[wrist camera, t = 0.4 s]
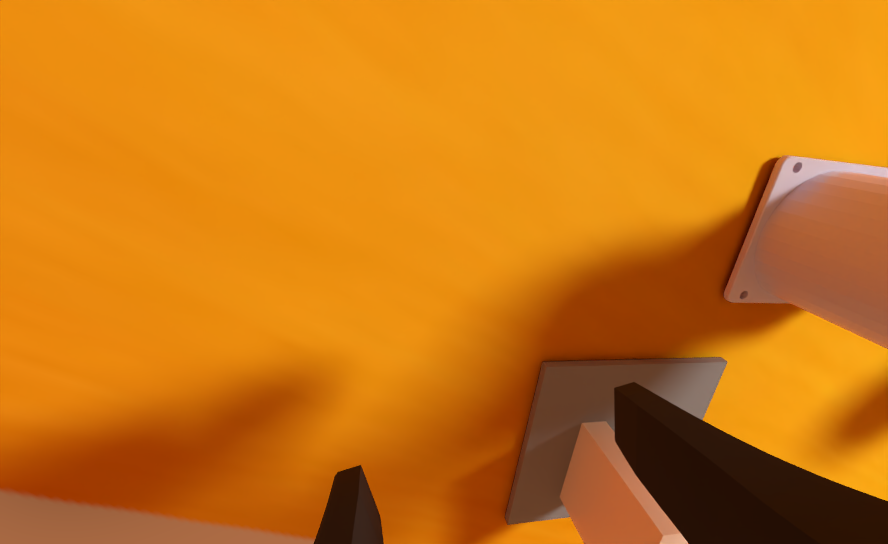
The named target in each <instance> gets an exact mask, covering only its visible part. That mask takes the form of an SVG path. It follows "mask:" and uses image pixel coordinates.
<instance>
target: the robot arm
mask: <svg viewBox="0 0 888 544" xmlns="http://www.w3.org/2000/svg"><path fill="white" fill-rule="evenodd" d="M724 298H725V299H726V300H727V301H729V302H732V303H791V304H793V305H795V306H797V307H800V308H802V309H804V310H806V311H808V312H810V313H812V314H814V315H817V316H819V317H821V318H823V319H825V320H827V321H829V322H831V323H834V324H836V325H838V326H840V327H842V328H844V329H846V330H848V331H851V332H853V333H855V334H857V335H859V336H861V337H863V338H865V339H868V340H870V341H872V342H874V343H876V344H878V345H880V346H883V347H885V348H887V349H888V168H885V167H877V166H869V165H861V164H853V163H845V162H837V161H829V160H821V159H812V158H804V157H796V156H788V155H786V156H783V157H781V158H780V159H779V160H778V161H777V162H776V164H775V166H774V169H773V171H772V174H771V176H770V179H769V181H768V184H767V186H766V189H765V191H764V194H763V196H762V199H761V201H760V204H759V206H758V209H757V211H756V214H755V216H754V219H753V221H752V224H751V226H750V229H749V231H748V234H747V236H746V239H745V241H744V244H743V246H742V249H741V251H740V254H739V256H738V259H737V261H736V264H735V266H734V269H733V271H732V274H731V276H730V279H729V281H728V284H727V286H726V289H725V291H724ZM614 420H615V442H616V444H617V445H618V447H619V449H620V450H621V452H622V454H623V456H624V457H625V459H626V461H627V462H628V464H629V465H630V467H631V468H632V470H633V472H634V473H635V475H636V476H637V478H638V479H639V480H640V482H641V483H642V484H643V485H644V487H645V488H646V489H647V491H648V492H649V493H650V495H651V496H652V497H653V498H654V500H655V501H656V502H657V504H658V505H659V506H660V507H661V509H662V510H663V511H664V513H665V514H666V515H667V516H668V518H669V519H670V520H671V522H672V523H673V524H674V525H675V527H676V528H677V529H678V531H679V532H680V533H681V534H682V536H683V537H684V538H685V540H686V541H687V542H688V543H689V544H888V501H885V500H882V499H880V498H877V497H874V496H871V495H869V494H866V493H863V492H860V491H858V490H855V489H852V488H849V487H847V486H844V485H841V484H839V483H836V482H834V481H831V480H829V479H826V478H823V477H821V476H818V475H816V474H814V473H811V472H809V471H807V470H804V469H802V468H800V467H797V466H795V465H793V464H790V463H788V462H785V461H783V460H781V459H779V458H777V457H774V456H772V455H770V454H768V453H766V452H764V451H762V450H760V449H757V448H755V447H753V446H751V445H749V444H747V443H745V442H743V441H741V440H739V439H737V438H735V437H733V436H731V435H729V434H727V433H725V432H723V431H721V430H719V429H718V428H716V427H714V426H712V425H710V424H708V423H706V422H705V421H703V420H701V419H699V418H697V417H695V416H694V415H692V414H690V413H688V412H686V411H685V410H683V409H681V408H679V407H678V406H676V405H674V404H672V403H670V402H669V401H667V400H665V399H663V398H662V397H660V396H658V395H657V394H655V393H653V392H651V391H650V390H648V389H646V388H644V387H643V386H641V385H639V384H637V383H635V382H632V383H628V384H625V385H622V386H619V387H615V388H614ZM314 544H384V543H383V535H382V527H381V519H380V514H379V512H378V509H377V506H376V504H375V501H374V499H373V496H372V493H371V491H370V488H369V485H368V483H367V480H366V477H365V475H364V472H363V469H362V467H361V465H360V466H356V467H353V468H350V469H346V470H343V471H340V472H338V473H337V474H336V475H335V477H334V481H333V485H332V489H331V492H330V496H329V499H328V502H327V506H326V509H325V512H324V515H323V518H322V521H321V524H320V527H319V530H318V533H317V536H316V539H315V542H314Z"/></svg>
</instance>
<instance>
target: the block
mask: <svg viewBox="0 0 888 544" xmlns="http://www.w3.org/2000/svg"><path fill="white" fill-rule="evenodd" d="M560 499H561V501H562V502H563V504H564V506H565V508H566V510H567V512H568V514H569V516H570V517H571V519H572V521H573V523H574V525H575V527H576V529H577V531H578V533H579V534H580V536H581V538H582V540H583V542H584V544H688V542H687V541H686V540H685V538H684V537H683V536H682V534H681V533H680V532H679V531H678V529H677V528H676V527H675V525H674V524H673V523H672V522H671V520H670V519H669V518H668V516H667V515H666V514H665V513H664V511H663V510H662V509H661V507H660V506H659V505H658V504H657V502H656V501H655V500H654V498H653V497H652V496H651V495H650V493H649V492H648V491H647V489H646V488H645V487H644V485H643V484H642V483H641V482H640V480H639V479H638V478H637V476H636V475H635V473H634V472H633V470H632V468H631V467H630V465H629V464H628V462H627V461H626V459H625V457H624V456H623V454H622V452H621V450H620V449H619V447H618V445H617V444H616V442H615V432H614V431H613V430H612V428H611V427H610V426H609V425H608V423H607V422H606V421H602V422H587V423H582V424H581V428H580V431H579V434H578V438H577V441H576V444H575V448H574V451H573V454H572V458H571V461H570V464H569V467H568V471H567V474H566V477H565V481H564V484H563V487H562V491H561V494H560Z"/></svg>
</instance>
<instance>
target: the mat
mask: <svg viewBox="0 0 888 544" xmlns="http://www.w3.org/2000/svg"><path fill="white" fill-rule="evenodd" d="M726 364H727V361H725V360H724V359H723V358H721V357H711V358H671V359H631V360H591V361H551V362H542V366H541V370H540V374H539V378H538V382H537V387H536V391H535V395H534V399H533V403H532V407H531V412H530V416H529V420H528V424H527V428H526V432H525V436H524V441H523V445H522V449H521V453H520V457H519V461H518V465H517V470H516V474H515V478H514V482H513V486H512V490H511V494H510V499H509V503H508V507H507V511H506V515H505V519H506V522H507V525H510V524H518V523H526V522H534V521H542V520H550V519H558V518H566V517H570V516H569V514H568V512H567V510H566V508H565V506H564V504H563V502H562V501H561V499H560V494H561V491H562V487H563V484H564V481H565V477H566V474H567V471H568V467H569V464H570V461H571V458H572V454H573V451H574V448H575V444H576V441H577V438H578V434H579V431H580V428H581V424H582V423H587V422H602V421H606V422H607V423H608V425H609V426H610V427H611V428H612V430H613V431H614V432H615V420H614V388H615V387H619V386H622V385H625V384H628V383H632V382H635V383H637V384H639V385H641V386H643V387H644V388H646V389H648V390H650V391H651V392H653V393H655V394H657V395H658V396H660V397H662V398H663V399H665V400H667V401H669V402H670V403H672V404H674V405H676V406H678V407H679V408H681V409H683V410H685V411H686V412H688V413H690V414H692V415H694V416H695V417H697V418H699V419H701V420H703V417H704V415H705V413H706V410H707V408H708V406H709V403H710V401H711V399H712V397H713V394H714V392H715V390H716V387H717V385H718V383H719V380H720V378H721V376H722V373H723V371H724V369H725V366H726Z"/></svg>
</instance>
